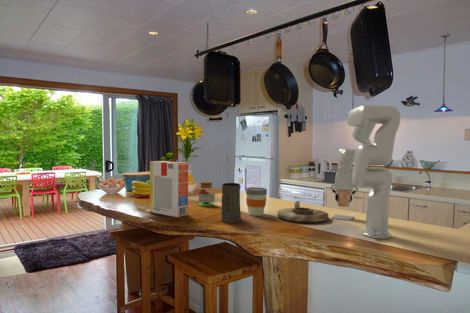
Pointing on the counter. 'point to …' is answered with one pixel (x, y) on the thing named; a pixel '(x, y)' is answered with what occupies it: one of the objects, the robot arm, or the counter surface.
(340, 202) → the pink mug
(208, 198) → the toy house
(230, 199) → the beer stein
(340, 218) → the mat
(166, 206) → the pasta box
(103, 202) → the counter surface
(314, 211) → the lazy susan
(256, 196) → the reusable coffee cup
